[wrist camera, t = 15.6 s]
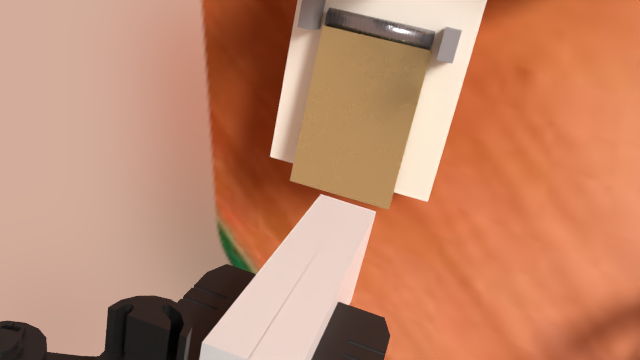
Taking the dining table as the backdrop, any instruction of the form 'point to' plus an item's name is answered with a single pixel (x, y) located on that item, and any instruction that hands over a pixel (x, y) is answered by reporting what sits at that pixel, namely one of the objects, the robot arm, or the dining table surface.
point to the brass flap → (361, 106)
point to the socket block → (438, 89)
